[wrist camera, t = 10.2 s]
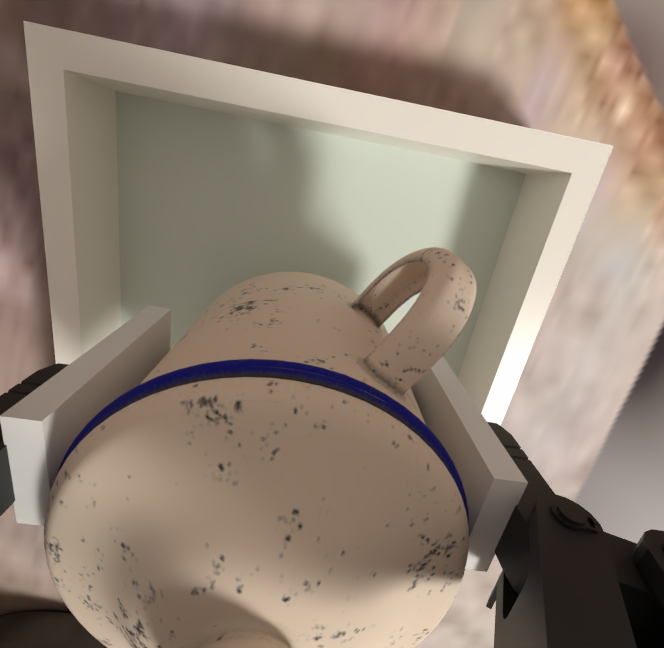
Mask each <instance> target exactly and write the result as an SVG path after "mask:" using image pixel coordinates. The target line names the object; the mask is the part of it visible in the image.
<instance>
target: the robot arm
mask: <svg viewBox="0 0 664 648" xmlns="http://www.w3.org/2000/svg"><path fill="white" fill-rule="evenodd" d="M170 340H171V309H169V308H163V307H156V306H150V305H149V306H148V307H146V308H145V309H144V310H142V311H141V312H140V313H138V314H137V315H136V316H134V317H133V318H131V319H130V320H129V321H127V322H126V323H125V324H123V325H122V326H121V327H119V328H118V329H117V330H115V331H114V332H113V333H111V334H110V335H108V336H107V337H106V338H104V339H103V340H102V341H100V342H99V343H98V344H96V345H95V346H94V347H92V348H91V349H89V350H88V351H87V352H85V353H84V354H83V355H81V356H80V357H79V358H77V359H76V360H75V361H73V362H72V363H71V364H69V365H68V364H61V363H57V364H55V365H52V366H49V367H47V368H44V369H41V370H39V371H36V372H35V373H33V374H32V375H31V376H29V377H28V378H26V379H25V380H23V381H22V383H21V384H17V385H16V386H14V387H13V388H11V389H10V390H9V391H8V393H4V394H3V395H1V396H0V516H1V515H2V514H3V513H4V512H5V511H6V510H7V509H8V508H9V507H10V506H11V505H12V504H13V503H14V509H15V515H16V521H17V523H23V524H33V525H42V526H44V525H45V516H46V508H47V503H48V499H49V495H50V492H51V488H52V486H53V484H54V481H55V479H56V476H57V472H58V469H59V467H60V465H61V462H62V460H63V458H64V456H65V454H66V452H67V451H68V449H69V447H70V446H71V444H72V442H73V441H74V439H75V438H76V437H77V436H78V434H79V433H80V432H81V431H82V429H83V428H84V427H85V426H86V424H87V423H88V422H90V421H91V420H92V419H93V418H94V417H95V416H96V415H97V414H98V413H99V412H100V411H101V410H102V409H103V408H105V407H106V406H107V405H109V404H110V403H111V402H113V401H114V400H115V399H117V398H118V397H119V396H121V395H123V394H124V393H126V392H128V391H129V390H131V389H133V388H135V387H136V386H138V385H140V384H141V382H142V381H143V380H144V379H145V378H146V377H147V376H148V375H149V373H150V372H151V371H152V370H153V369H154V368H155V367H156V366H157V364H158V363H159V362H160V361H161V360H162V359H163V358H164V357H165V355H166V354H167V353H168V352H169V351H170ZM411 390H412V392H413V395H414V397H415V400H416V402H417V404H418V407H419V409H420V412H421V414H422V417H423V419H424V421H425V424H426V426H427V427H428V428H429V429H430V430H431V431H432V432H433V433H434V435H435V436H436V437H437V439H438V440H439V441H440V442H441V444H442V445H443V446H444V448H445V449H446V451H447V453H448V454H449V456H450V458H451V459H452V461H453V463H454V465H455V467H456V469H457V471H458V474H459V476H460V478H461V481H462V484H463V488H464V491H465V494H466V499H467V506H468V515H469V549H468V557H467V563H466V567H465V569H467V570H477V571H486V572H487V570H488V568H489V566H490V564H491V561H492V559H493V557H494V555H495V554H496V556H497V558H498V560H499V562H500V564H501V567H502V569H503V571H502V573H501V575H500V577H499V579H498V581H497V583H496V585H495V587H494V589H493V591H492V593H491V595H490V597H489V600H488V603H487V606H486V607H488V608H490V609H491V608H492V606H493V604H494V602H495V601H496V615H495V637H494V648H664V531H658V530H649V531H646V532H645V533H644V534H643V536H642V537H641V539H640V541H639V542H638V543H637V544H636V543H633V542H631V541H628V540H625V539H622V538H619V537H617V536H614V535H611V534H609V533H606V532H604V531H603V529H602V527H601V525H600V524H599V522H598V521H597V520H596V519H595V518H594V517H593V516H592V515H591V514H590V513H589V512H588V511H587V510H585V509H584V508H583V507H581V506H580V505H579V504H577V503H575V502H573V501H571V500H569V499H567V498H565V497H562V496H559V495H555V493H554V492H553V491H552V489H551V488H550V487H549V485H548V484H547V483H546V481H545V480H544V479H543V477H542V476H541V474H540V473H539V472H538V470H537V469H536V468H535V466H534V465H533V464H532V462H531V461H530V460H528V457H527V455H526V454H525V453H524V451H523V450H521V449H520V448H521V447H520V446H519V445H518V443H517V442H516V440H515V439H514V438H513V436H512V435H511V434H510V433H509V432H507V431H506V430H505V429H504V428H502V427H501V426H500V425H499V424H497V423H493V422H487V421H486V420H485V418H484V417H483V415H482V414H481V412H480V411H479V409H478V408H477V406H476V405H475V403H474V402H473V400H472V399H471V397H470V396H469V394H468V393H467V391H466V390H465V388H464V387H463V386H462V384H461V383H460V381H459V380H458V378H457V377H456V375H455V374H454V372H453V371H452V369H451V368H450V366H449V365H448V363H447V362H446V360H445V359H444V357H443V356H442V357H441V358H440V359H439V360H438V362H437V363H436V364H435V365H434V366H433V367H432V368H431V369H430V370H429V371H428V372H427V373H426V374H425V375H423V376H422V377H421V378H420V379H419V380H418V381H417V382H416V383H415V384H414V385H413V386H412V387H411ZM0 648H107V647H106V646H105V645H103V644H102V643H101V642H99V641H98V640H97V639H96V638H95V637H94V636H93V635H91V634H90V633H89V632H88V631H87V630H86V629H85V628H84V627H83V625H82V624H81V623H80V622H79V621H78V620H77V619H76V617H75V616H74V615H73V614H70V613H62V612H49V611H35V612H22V613H14V614H9V615H5V616H1V617H0Z"/></svg>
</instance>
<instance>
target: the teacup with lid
mask: <svg viewBox="0 0 664 648" xmlns="http://www.w3.org/2000/svg"><path fill="white" fill-rule="evenodd" d="M420 292H421V293H420ZM418 293H420V295H419V296H418V298H417V299H416V301H415V303H414V304H413V305H412V307H411V308H410V310H409V311H408V312H407V314H406V315H405V316H404V317H403V318H402V320H401V321H400V322H399V323H398V324H397V325H396V327H395V328H394V329H393V330H392V331H391V332H390V333H389V334H388V332H387V330H386V328H385V326H384V324H383V323H384V322H385V321H386V320H387V319H388V318H389V317H390V316H391V315H392V314H393V313H394V312H395V311H396V310H397V309H398V308H400V307H401V306H402V305H403V304H404V303H405V302H407V301H408V300H409V299H410V298H412V297H413V296H415V295H417V294H418ZM475 297H476V281H475V277H474V275H473V273H472V271H471V270H470V268H469V267H468V266H467V265H466V264H465V263H464V262H463V261H462V260H460V259H459V258H458V257H457V256H456V255H455V254H454V253H452V252H451V251H449V250H447V249H444V248H439V247H430V248H424V249H421V250H418V251H415V252H412V253H410V254H408V255H406V256H404V257H403V258H401V259H399V260H398V261H396V262H395V263H393V264H392V265H390V266H389V267H388V268H387V269H385V270H384V271H383V272H382V273H381V274H380V275H379V276H378V277H377V278H376V279H374V280H373V281H372V282H371V283H370V285H369V286H368V287H367V288H366V289H365V290H364V291H363V292H362V293H361V294H360V295H358V294H356V293H355V292H353V291H352V290H351V289H349V288H347V287H346V286H344V285H342V284H340V283H338V282H336V281H334V280H331V279H328V278H325V277H323V276H319V275H315V274H311V273H303V272H275V273H268V274H264V275H260V276H256V277H253V278H250V279H248V280H245V281H243V282H241V283H239V284H237V285H235V286H234V287H232V288H230V289H229V290H227V291H226V292H224V293H223V294H222V295H221V296H219V297H218V298H217V299H216V300H215V301H214V302H213V303H212V304H211V305H210V306H209V307H208V308H207V309H206V311H205V312H204V313H203V314H202V315H201V316H200V317H199V318H198V320H197V321H196V322H195V323H194V324H193V325H192V326H191V327H190V329H189V330H188V331H187V332H186V333H185V334H184V335H183V336H182V338H181V339H180V340H179V341H178V342H177V343H176V344H175V345H174V347H173V348H172V349H171V350H170V351H169V352H168V353H167V354H166V355H165V357H164V358H163V359H162V360H161V361H160V362H159V363H158V364H157V366H156V367H155V368H154V369H153V370H152V371H151V372H150V373H149V375H148V376H147V377H146V378H145V379H144V380H143V381H142V382H141V384H140V385H138V386H136V387H135V388H133V389H131V390H129V391H128V392H126V393H124V394H123V395H121V396H119V397H118V398H117V399H115V400H114V401H113V402H111V403H110V404H109V405H107V406H106V407H105V408H103V409H102V410H101V411H100V412H99V413H98V414H97V415H96V416H95V417H94V418H93V419H92V420H91V421H90V422H88V423H87V424H86V426H85V427H84V428H83V429H82V431H81V432H80V433H79V434H78V436H77V437H76V438H75V439H74V441H73V442H72V444H71V446H70V447H69V449H68V451H67V452H66V454H65V456H64V458H63V460H62V462H61V465H60V467H59V469H58V472H57V476H56V479H55V481H54V484H53V486H52V488H51V492H50V495H49V499H48V503H47V508H46V516H45V525H44V544H45V552H46V558H47V563H48V567H49V570H50V573H51V576H52V579H53V582H54V584H55V586H56V588H57V590H58V592H59V594H60V596H61V598H62V599H63V601H64V602H65V604H66V606H67V607H68V608H69V610H70V611H71V612H72V614H73V615H74V616H75V617H76V619H77V620H78V621H79V622H80V623H81V624H82V625H83V627H84V628H85V629H86V630H87V631H88V632H89V633H90V634H91V635H93V636H94V637H95V638H96V639H97V640H98V641H99V642H101V643H102V644H103V645H105V646H106V647H107V648H414V647H415V646H417V645H418V644H419V643H420V642H421V641H422V640H423V639H424V638H425V637H427V636H428V635H429V634H430V633H431V632H432V630H433V629H434V628H435V627H436V626H437V625H438V624H439V622H440V621H441V620H442V618H443V617H444V615H445V614H446V612H447V611H448V609H449V608H450V606H451V604H452V602H453V600H454V598H455V597H456V595H457V592H458V590H459V587H460V585H461V582H462V578H463V575H464V571H465V567H466V563H467V557H468V549H469V515H468V506H467V499H466V494H465V491H464V488H463V484H462V481H461V478H460V476H459V474H458V471H457V469H456V467H455V465H454V463H453V461H452V459H451V458H450V456H449V454H448V453H447V451H446V449H445V448H444V446H443V445H442V444H441V442H440V441H439V440H438V439H437V437H436V436H435V435H434V433H433V432H432V431H431V430H430V429H429V428H428V427H427V426H426V424H425V421H424V419H423V417H422V414H421V412H420V409H419V407H418V404H417V402H416V400H415V397H414V395H413V392H412V390H411V387H412V386H413V385H414V384H415V383H416V382H417V381H418V380H419V379H420V378H421V377H422V376H423V375H425V374H426V373H427V372H428V371H429V370H430V369H431V368H432V367H433V366H434V365H435V364H436V363H437V362H438V360H439V359H440V358H441V357H442V356H443V355H444V354H445V353H446V351H447V350H448V349H449V348H450V347H451V345H452V344H453V343H454V341H455V340H456V339H457V337H458V336H459V334H460V333H461V331H462V329H463V327H464V326H465V324H466V322H467V320H468V318H469V315H470V313H471V311H472V308H473V305H474V302H475Z"/></svg>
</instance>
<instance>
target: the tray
mask: <svg viewBox="0 0 664 648" xmlns="http://www.w3.org/2000/svg"><path fill="white" fill-rule="evenodd" d="M23 22H24V33H25V44H26V54H27V65H28V75H29V86H30V96H31V107H32V117H33V128H34V139H35V149H36V160H37V170H38V181H39V191H40V202H41V212H42V223H43V234H44V244H45V255H46V265H47V276H48V286H49V297H50V307H51V318H52V329H53V339H54V350H55V360H56V364H57V363H61V364H68V365H69V364H71V363H72V362H73V361H75V360H76V359H77V358H79V357H80V356H81V355H83V354H84V353H85V352H87V351H88V350H89V349H91V348H92V347H94V346H95V345H96V344H98V343H99V342H100V341H102V340H103V339H104V338H106V337H107V336H108V335H110V334H111V333H113V332H114V331H115V330H117V329H118V328H119V327H121V326H122V325H123V324H125V323H126V322H127V321H129V320H130V319H131V318H133V317H134V316H136V315H137V314H138V313H140V312H141V311H142V310H144V309H145V308H146V307H148V306H149V305H150V306H156V307H163V308H169V309H171V340H170V350H171V349H172V348H173V347H174V345H175V344H176V343H177V342H178V341H179V340H180V339H181V338H182V336H183V335H184V334H185V333H186V332H187V331H188V330H189V329H190V327H191V326H192V325H193V324H194V323H195V322H196V321H197V320H198V318H199V317H200V316H201V315H202V314H203V313H204V312H205V311H206V309H207V308H208V307H209V306H210V305H211V304H212V303H213V302H214V301H215V300H216V299H217V298H218V297H219V296H221V295H222V294H223V293H224V292H226V291H227V290H229V289H230V288H232V287H234V286H235V285H237V284H239V283H241V282H243V281H245V280H248V279H250V278H253V277H256V276H260V275H264V274H268V273H275V272H303V273H311V274H315V275H319V276H323V277H325V278H328V279H331V280H334V281H336V282H338V283H340V284H342V285H344V286H346V287H347V288H349V289H351V290H352V291H353V292H355V293H356V294H358V295H360V294H361V293H362V292H363V291H364V290H365V289H366V288H367V287H368V286H369V285H370V283H371V282H372V281H373V280H374V279H376V278H377V277H378V276H379V275H380V274H381V273H382V272H383V271H384V270H385V269H387V268H388V267H389V266H390V265H392V264H393V263H395V262H396V261H398V260H399V259H401V258H403V257H404V256H406V255H408V254H410V253H412V252H415V251H418V250H421V249H424V248H430V247H439V248H444V249H447V250H449V251H451V252H452V253H454V254H455V255H456V256H457V257H458V258H459V259H460V260H462V261H463V262H464V263H465V264H466V265H467V266H468V267H469V268H470V270H471V271H472V273H473V275H474V277H475V281H476V297H475V302H474V305H473V308H472V311H471V313H470V315H469V318H468V320H467V322H466V324H465V326H464V327H463V329H462V331H461V333H460V334H459V336H458V337H457V339H456V340H455V341H454V343H453V344H452V345H451V347H450V348H449V349H448V350H447V351H446V353H445V354H444V355H443V357H444V359H445V360H446V362H447V363H448V365H449V366H450V368H451V369H452V371H453V372H454V374H455V375H456V377H457V378H458V380H459V381H460V383H461V384H462V386H463V387H464V388H465V390H466V391H467V393H468V394H469V396H470V397H471V399H472V400H473V402H474V403H475V405H476V406H477V408H478V409H479V411H480V412H481V414H482V415H483V417H484V418H485V420H486V421H487V422H493V423H497V424H499V425H501V423H502V420H503V418H504V415H505V413H506V410H507V408H508V406H509V403H510V401H511V398H512V396H513V393H514V391H515V388H516V386H517V383H518V381H519V378H520V376H521V373H522V371H523V368H524V366H525V364H526V361H527V359H528V356H529V354H530V351H531V349H532V346H533V344H534V341H535V339H536V336H537V334H538V331H539V329H540V326H541V324H542V322H543V319H544V317H545V314H546V312H547V309H548V307H549V304H550V302H551V299H552V297H553V294H554V292H555V289H556V287H557V284H558V282H559V280H560V277H561V275H562V272H563V270H564V267H565V265H566V262H567V260H568V257H569V255H570V252H571V250H572V247H573V245H574V242H575V240H576V237H577V235H578V233H579V230H580V228H581V225H582V223H583V220H584V218H585V215H586V213H587V210H588V208H589V205H590V203H591V200H592V198H593V195H594V193H595V191H596V188H597V186H598V183H599V181H600V178H601V176H602V173H603V171H604V168H605V166H606V163H607V161H608V158H609V156H610V153H611V151H612V149H613V146H612V145H607V144H603V143H598V142H593V141H588V140H584V139H579V138H574V137H570V136H565V135H560V134H555V133H551V132H546V131H541V130H537V129H532V128H527V127H522V126H518V125H513V124H508V123H504V122H499V121H494V120H489V119H485V118H480V117H475V116H471V115H466V114H461V113H456V112H452V111H447V110H442V109H438V108H433V107H428V106H423V105H419V104H414V103H409V102H405V101H400V100H395V99H390V98H386V97H381V96H376V95H372V94H367V93H362V92H357V91H353V90H348V89H343V88H339V87H334V86H329V85H324V84H320V83H315V82H310V81H306V80H301V79H296V78H291V77H287V76H282V75H277V74H273V73H268V72H263V71H258V70H254V69H249V68H244V67H240V66H235V65H230V64H225V63H221V62H216V61H211V60H207V59H202V58H197V57H192V56H188V55H183V54H178V53H174V52H169V51H164V50H159V49H155V48H150V47H145V46H141V45H136V44H131V43H126V42H122V41H117V40H112V39H108V38H103V37H98V36H93V35H89V34H84V33H79V32H75V31H70V30H65V29H60V28H56V27H51V26H46V25H42V24H37V23H32V22H27V21H23ZM420 293H421V292H420ZM420 293H418V294H417V295H415V296H413V297H412V298H410V299H409V300H408V301H407V302H405V303H404V304H403V305H402V306H401V307H400V308H398V309H397V310H396V311H395V312H394V313H393V314H392V315H391V316H390V317H389V318H388V319H387V320H386V321H385V322H384V323H383V324H384V326H385V328H386V330H387V332H388V334H389V333H390V332H391V331H392V330H393V329H394V328H395V327H396V325H397V324H398V323H399V322H400V321H401V320H402V318H403V317H404V316H405V315H406V314H407V312H408V311H409V310H410V308H411V307H412V305H413V304H414V303H415V301H416V299H417V298H418V296H419V295H420Z"/></svg>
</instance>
